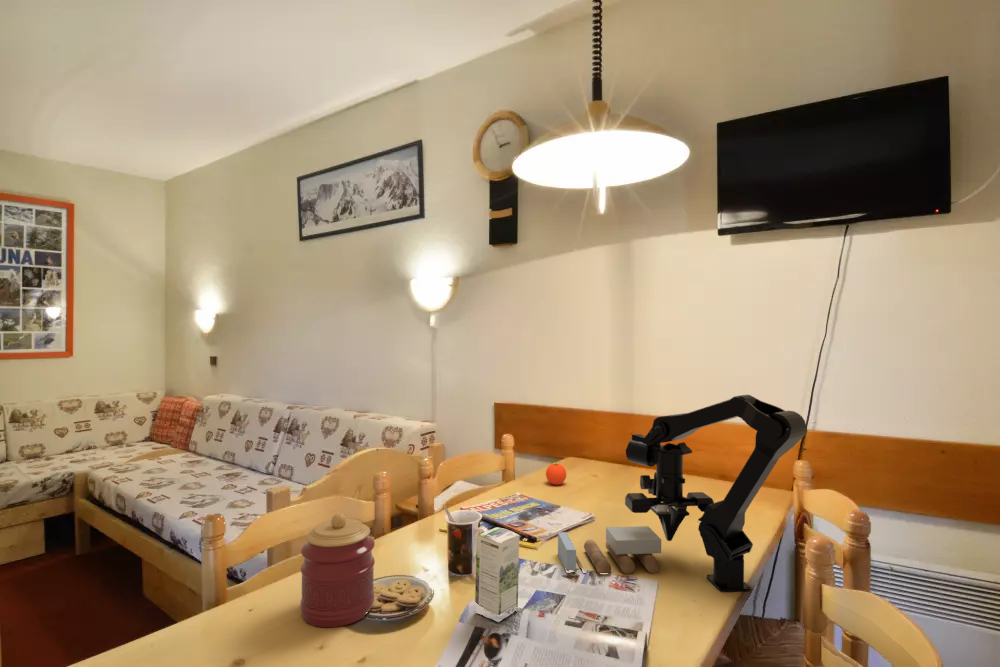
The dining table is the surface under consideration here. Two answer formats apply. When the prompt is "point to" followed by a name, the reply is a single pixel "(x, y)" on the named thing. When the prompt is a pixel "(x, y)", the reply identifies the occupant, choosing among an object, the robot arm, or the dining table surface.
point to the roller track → (628, 564)
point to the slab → (633, 540)
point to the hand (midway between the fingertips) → (668, 540)
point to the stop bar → (566, 551)
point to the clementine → (556, 474)
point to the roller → (597, 557)
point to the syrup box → (497, 570)
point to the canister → (337, 573)
